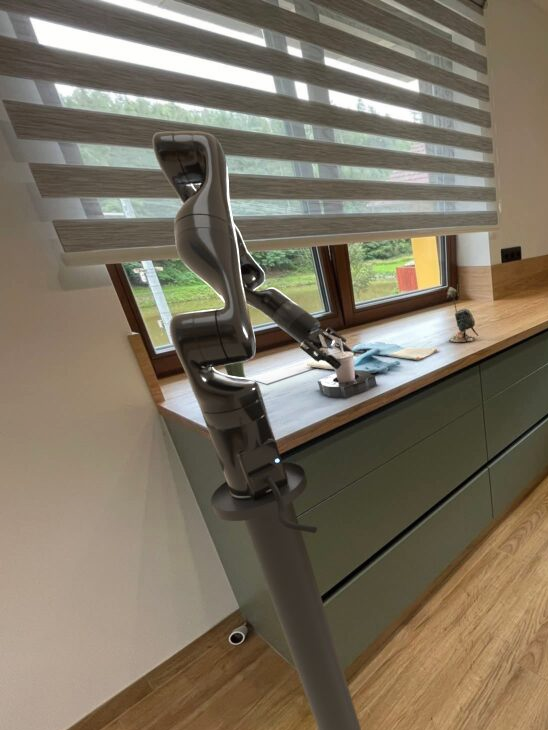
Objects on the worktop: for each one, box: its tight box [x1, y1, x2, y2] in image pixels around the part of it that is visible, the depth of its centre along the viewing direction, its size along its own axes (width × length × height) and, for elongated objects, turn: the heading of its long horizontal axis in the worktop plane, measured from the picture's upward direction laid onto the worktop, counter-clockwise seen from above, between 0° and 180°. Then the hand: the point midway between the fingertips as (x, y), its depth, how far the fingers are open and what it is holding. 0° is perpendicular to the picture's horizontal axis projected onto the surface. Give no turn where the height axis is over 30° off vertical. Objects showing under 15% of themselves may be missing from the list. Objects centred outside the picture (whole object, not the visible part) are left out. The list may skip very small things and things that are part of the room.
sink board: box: [317, 370, 378, 399], centre depth 118 cm, size 13×13×3 cm
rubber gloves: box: [307, 341, 438, 374], centre depth 141 cm, size 27×33×6 cm
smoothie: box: [331, 338, 355, 383], centre depth 116 cm, size 6×6×14 cm
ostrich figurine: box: [446, 286, 480, 343], centre depth 154 cm, size 8×11×20 cm
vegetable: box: [223, 362, 247, 378], centre depth 108 cm, size 4×4×20 cm
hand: (346, 361), depth 116 cm, fingers open, 8 cm apart
